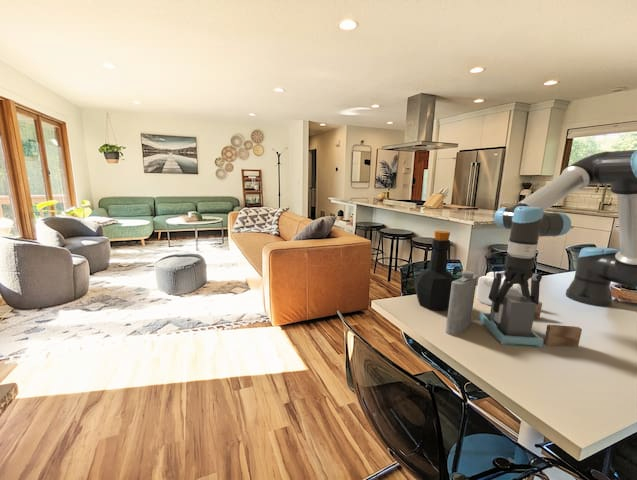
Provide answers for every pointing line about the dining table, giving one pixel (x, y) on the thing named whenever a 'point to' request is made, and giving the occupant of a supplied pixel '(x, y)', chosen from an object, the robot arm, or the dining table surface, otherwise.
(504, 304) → the grey rectangular block
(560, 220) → the robot arm
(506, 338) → the teal tray
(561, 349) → the dining table surface
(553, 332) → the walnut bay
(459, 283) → the hip flask
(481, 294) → the cable organizer
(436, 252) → the bottle
